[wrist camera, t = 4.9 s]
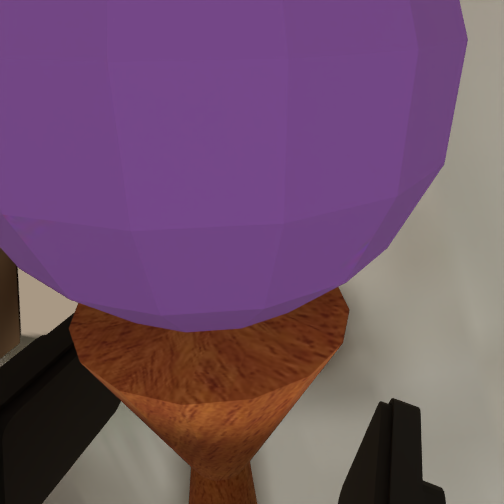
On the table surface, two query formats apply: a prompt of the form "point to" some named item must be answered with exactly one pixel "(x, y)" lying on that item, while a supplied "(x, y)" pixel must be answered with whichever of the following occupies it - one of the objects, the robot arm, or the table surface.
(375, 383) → the table surface
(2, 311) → the walnut block
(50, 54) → the kendama
